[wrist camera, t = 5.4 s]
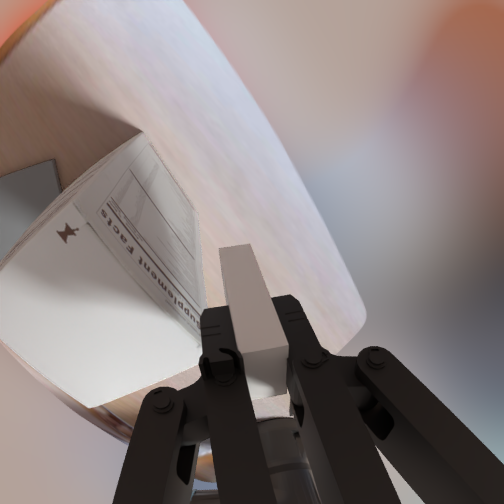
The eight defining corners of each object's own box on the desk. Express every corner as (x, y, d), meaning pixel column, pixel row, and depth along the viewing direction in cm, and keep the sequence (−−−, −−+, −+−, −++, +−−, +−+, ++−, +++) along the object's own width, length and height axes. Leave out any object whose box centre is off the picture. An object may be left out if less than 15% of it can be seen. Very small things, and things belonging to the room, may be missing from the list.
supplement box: (64, 189, 24) (-40, 303, 9) (143, 127, 23) (66, 187, 8) (124, 265, 28) (89, 414, 14) (202, 216, 28) (219, 361, 13)
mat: (91, 280, 28) (89, 284, 28) (-16, 296, 26) (-18, 299, 26) (54, 158, 22) (51, 160, 21) (-55, 200, 20) (-58, 202, 19)
